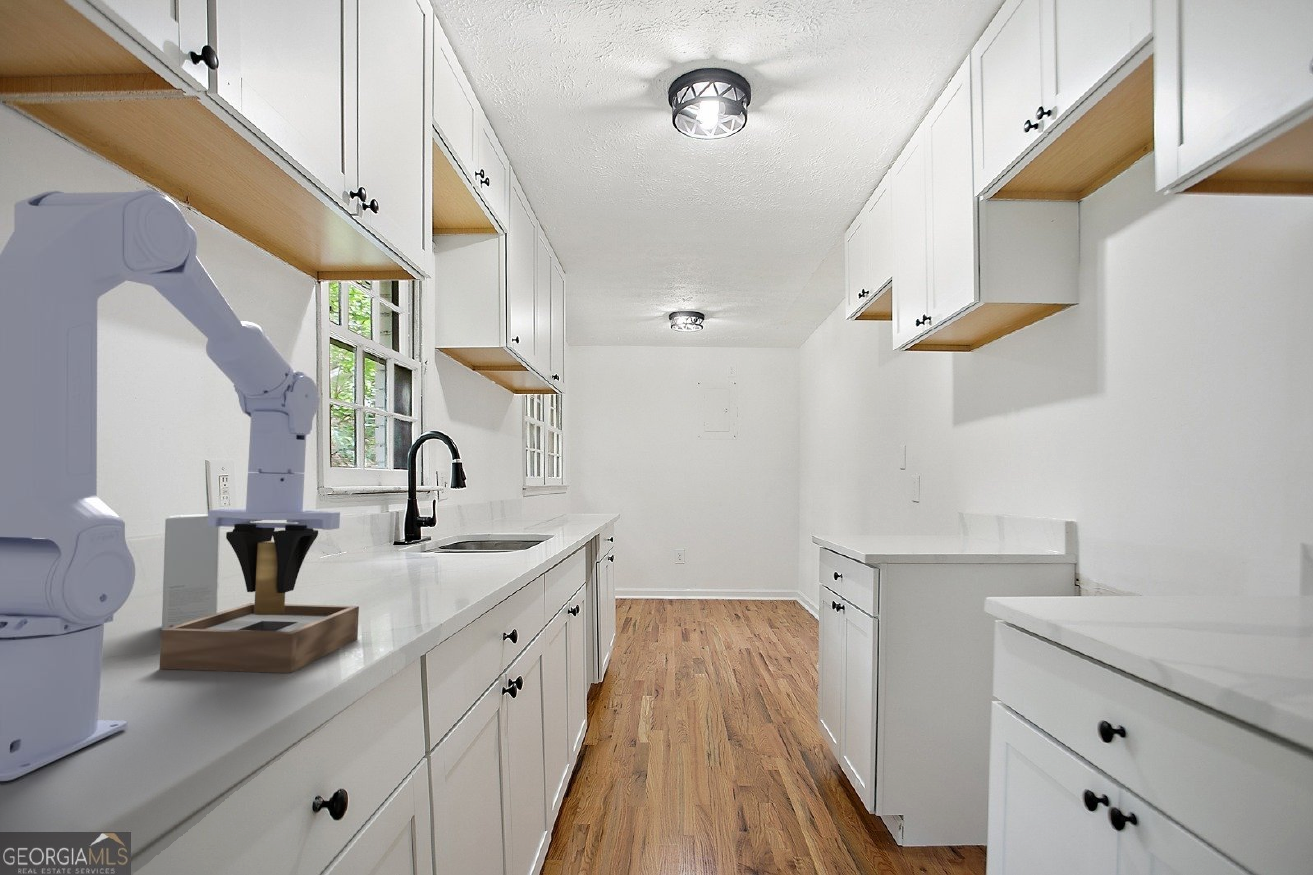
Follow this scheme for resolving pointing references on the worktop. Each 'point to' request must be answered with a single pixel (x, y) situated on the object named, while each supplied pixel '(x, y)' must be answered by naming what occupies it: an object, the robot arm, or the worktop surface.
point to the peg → (267, 581)
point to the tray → (259, 639)
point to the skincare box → (190, 569)
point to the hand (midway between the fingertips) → (270, 591)
